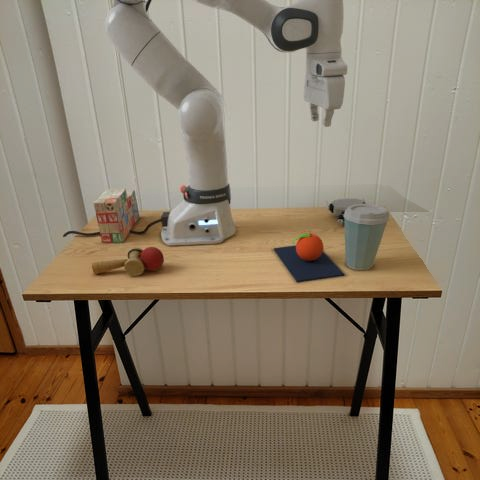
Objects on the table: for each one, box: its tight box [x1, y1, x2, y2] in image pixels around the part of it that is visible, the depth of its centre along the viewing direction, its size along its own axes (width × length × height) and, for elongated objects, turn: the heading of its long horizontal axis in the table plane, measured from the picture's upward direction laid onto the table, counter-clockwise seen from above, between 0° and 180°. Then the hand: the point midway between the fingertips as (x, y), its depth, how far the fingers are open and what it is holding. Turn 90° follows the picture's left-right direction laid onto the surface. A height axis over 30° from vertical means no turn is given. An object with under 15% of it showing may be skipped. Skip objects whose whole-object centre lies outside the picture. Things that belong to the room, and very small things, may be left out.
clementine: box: [291, 232, 324, 261], centre depth 115 cm, size 8×7×7 cm
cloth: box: [273, 245, 345, 283], centre depth 117 cm, size 12×20×1 cm, turn 13°
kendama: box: [91, 246, 165, 277], centre depth 115 cm, size 8×6×18 cm
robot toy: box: [325, 197, 367, 224], centre depth 141 cm, size 12×4×15 cm
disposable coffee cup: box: [343, 203, 390, 271], centre depth 110 cm, size 11×11×15 cm
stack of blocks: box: [93, 188, 140, 244], centre depth 139 cm, size 21×6×12 cm, turn 177°
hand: (320, 123), depth 124 cm, fingers open, 8 cm apart
